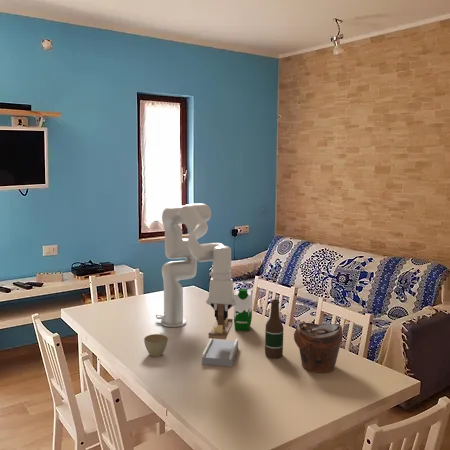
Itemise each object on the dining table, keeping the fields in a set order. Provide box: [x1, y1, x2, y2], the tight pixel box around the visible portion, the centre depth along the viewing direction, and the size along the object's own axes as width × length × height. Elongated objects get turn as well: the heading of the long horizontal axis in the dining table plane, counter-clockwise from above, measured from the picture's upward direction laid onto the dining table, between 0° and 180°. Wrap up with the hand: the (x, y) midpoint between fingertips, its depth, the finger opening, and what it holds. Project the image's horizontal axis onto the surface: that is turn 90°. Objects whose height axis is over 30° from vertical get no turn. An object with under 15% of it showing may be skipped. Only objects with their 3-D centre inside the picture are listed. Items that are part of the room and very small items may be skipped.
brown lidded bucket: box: [293, 322, 344, 374], centre depth 194 cm, size 18×20×18 cm
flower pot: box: [143, 333, 169, 358], centre depth 204 cm, size 10×10×7 cm
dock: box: [201, 338, 239, 368], centre depth 204 cm, size 12×20×4 cm, turn 171°
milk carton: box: [233, 288, 253, 332], centre depth 236 cm, size 9×9×20 cm
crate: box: [214, 325, 223, 333], centre depth 196 cm, size 3×3×3 cm
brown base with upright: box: [208, 304, 234, 340], centre depth 202 cm, size 19×7×14 cm, turn 171°
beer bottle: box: [264, 299, 284, 359], centre depth 204 cm, size 8×8×24 cm
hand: (221, 318), depth 202 cm, fingers closed on brown base with upright, 2 cm apart
